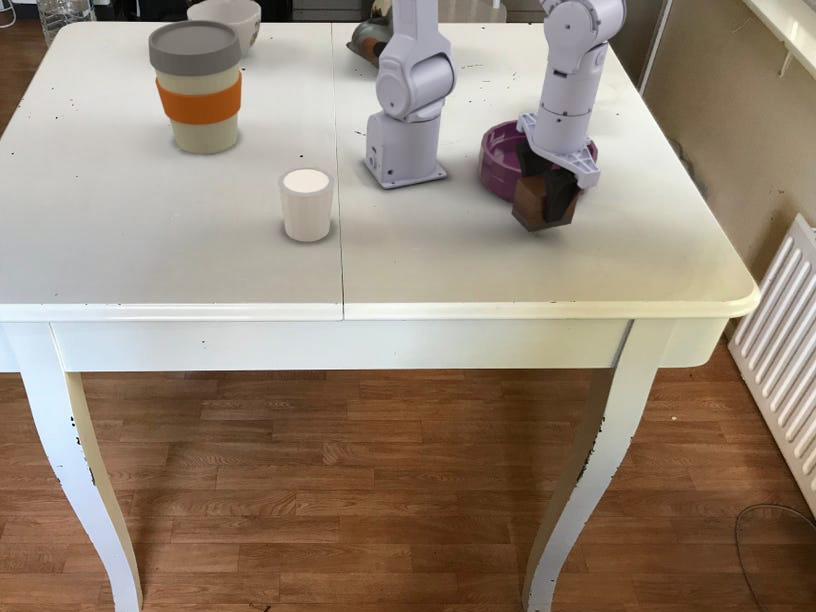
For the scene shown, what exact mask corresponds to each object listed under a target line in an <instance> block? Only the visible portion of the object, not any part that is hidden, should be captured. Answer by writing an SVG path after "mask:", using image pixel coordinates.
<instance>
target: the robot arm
mask: <svg viewBox="0 0 816 612" xmlns="http://www.w3.org/2000/svg"><path fill="white" fill-rule="evenodd" d="M538 1H539V3H540V5H541V7H542V8H543V10H544V12H545V13H546V15H547V17H544V19H543V34H544V37H545V41H546V42H547V45H548V52H547V58H546V61H547V63H546V69H545V74H544V79H543V83H542V88H541V94H540V99H539V104H538V109H537V113H535V112H534V111H531V112H526V113H520V114H518V117H517V120H518V122H517V128H516V129H517V130H518V131H519V132H521V133H523V132H525V133H526V136H527V140H525V142H521V143H517V144H516V145H515V149H514V150H515V152H516V154H517V157H518V160H519V164H520V168H521V174H522V178H525V177H530V176H535V175H540V174H543V177H544V180H545V186H546V202H545V208H544V221H545V222H546V223H551V222H556V221H560V220H561V219H562V218H563V216H564V214H565V212H566V211H567V209H568V207H569V206H570V204H571V202H572V201H573V200H574V198H575V197H576V196H577V194H578V193H579V192H580V191H581V190H582V189H584V188H588V189H589V188H593V187H597V186H598V184H599V180H600V178H601V177H600V176H601V173H602V170H601V169H600V168H599V167H598V165H597V164H596V165H595V163H594V161H593V159H592V157H591V154H590V152H589V150H588V148H587V146H586V145H589V144H590V142H591V140H592V138H591V137H590V136H589V135H588V134H587V132H588V128H589V125H590V121H591V117H592V112H593V108H594V104H595V101H596V96H597V93H598V89H599V85H600V80H601V77H602V73H603V70H604V65H605V60H606V56H607V53H608V49H609V44H610V42H609V40H610V39H612V38H613V37H614V36H616V34H618V33H619V32H620V31H621V29H622V28H623V26H624V24H625V21H626V18H627V5H626V4H627V3H626V0H538ZM391 5H392V8H393V27H394V35H393V37H392V38H391V40H390V41H389V43H388V44H387V46H386V47H385V49H384V50H383V52H382V53H381V55H380V57H379V69H378V74H377V77H376V80H375V95H376V99H377V101H378V104H379V105H380V108H382V110H381V111H378V112H376V113H373V114H371V115H369V117H368V119H367V123H366V142H365V143H366V144H365V158H364V159H363V163H364V165H366V167H367V168H368V170H369V171H370V173H371V174H372V175H373V177H375V179H376V180H377V182H378V183H379V185H380V186H381V187H382V189H385V190H388V189H395V188H399V187H405V186H408V185H414V184H419V183H425V182H429V181H430V182H431V181H435V180H440V179H445V178H447V176H448V174H447V172H446V171H445V169H444V168H443V167H442V166H441V165H440V164H439V163H438V161H437V159H438V158H437V156H438V149H439V148H438V147H439V139H440V127H441V120H442V110H443V107H444V106H445V105H446V98H447V97H448V96H449V95H451V94H452V93H453V92H454V90H455V88H456V85H457V81H458V75H457V72H458V71H457V67H456V65H455V62H454V60H453V56H452V43H451V40H449V39H448V38H447V37H446V36H445V35H443V34H442V33H441V32H440V31H439V0H391ZM554 163H556V164H558V165H560V168H559V169H553V170H551V168H552V166H553V164H554Z"/></svg>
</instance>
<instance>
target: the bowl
mask: <svg viewBox="0 0 816 612" xmlns="http://www.w3.org/2000/svg"><path fill="white" fill-rule="evenodd" d="M517 122H518V119H514V120H508V121H503V122H501V123H498V124H496V125H493V126H491V127H490V128H489V129H487V131H486V132H484V134H483V135H482V139H481V142H480V146H479V153H478V160H477V167H476V171H477V174H478V178H479V180H480V181H481V182H482V184H483V185H484V187H485V188H486V189H487V190H488V191H489V192H490V193H492V194H494V195H495V196H497V197H498V198H500V199H502V200H504V201H507V202H510V203H512V204H513V201H514V196H515V190H516V185H517V180H518V179H520V178H522V174H521V168H520V164H519V160H518V157H517V154H516V152H515V150H514V149H515V145H516V144H517V143H521V142H525V140H527V136H526V133H525V132H523V133H521V132H519V131H518V130H517V129H516V128H517ZM586 146H587V148H588V150H589V152H590V154H591V157H592V159H593V161H594V163H595V165H596V166H597V161H598V156H599V155H598V154H599V149H598V147H597V146H596V144H595V142H594V140H592V139H591V142H590V144H589V145H586ZM559 168H560V165H558V164H556V163H554V164H553V166H552V168H551V170H553V169H559ZM588 189H589V188H584V189H582V190H581V191H580V192H579V196H578V198H580V197H582V196H583V195H584V194H585V193H586V192H587V191H588Z"/></svg>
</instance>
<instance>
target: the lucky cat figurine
mask: <svg viewBox="0 0 816 612" xmlns="http://www.w3.org/2000/svg"><path fill="white" fill-rule="evenodd" d="M370 12H371V13H370V14H371V17H369V18H368V19H367V20H365V21H362V22H360V23H359V24H358V25H357V26H356V27H355V29H354V30H353V32H352V34H351V38H350V39H351V40H350V41H348V42H347V43H346V44H345V46H346V48H347V49H348V50H349V51H351V52H352V53H354V54H355V55H356V56H358V57H361V58H362V59H364V60H365V61H367V62H369V64H371V66H373V67H374V68H376V69H377V70H379V57H380V55H381V53H382V52H383V50H384V49H385V47H386V46H387V44H388V43H389V41H390V40H391V38H392V37H393V35H394V27H393V8H392V4H391V5H390V6H389V8H388V9H387V12H386V14H385V15H383V12H382V8H381V6H379V5H377V4H376V5H374V6H373V7H372V8H371V11H370Z"/></svg>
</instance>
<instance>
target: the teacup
mask: <svg viewBox="0 0 816 612" xmlns="http://www.w3.org/2000/svg"><path fill="white" fill-rule="evenodd" d="M186 15H187V21H188V20H210V21H217V22H221V23H225V24H228V25H230V26H231V27H233V28H234V29H235V30H236V31H237V33H238V37H239V42H240V47H241V52H242V58H241V60H242V59H243V58H244V57H245V56H246V55H247V53H248V52H249V51H250V50H251V49H252V48H253V46H254V45H255V42H256V40H257V38H258V36H259V33H260V27H261V20H262V7H261V6H260V4H259V3H257V2H256V1H255V0H203V1H201V2H199V3H196V4H193V5H192V6H191V7H189V8H188V9H187V10H186Z"/></svg>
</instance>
